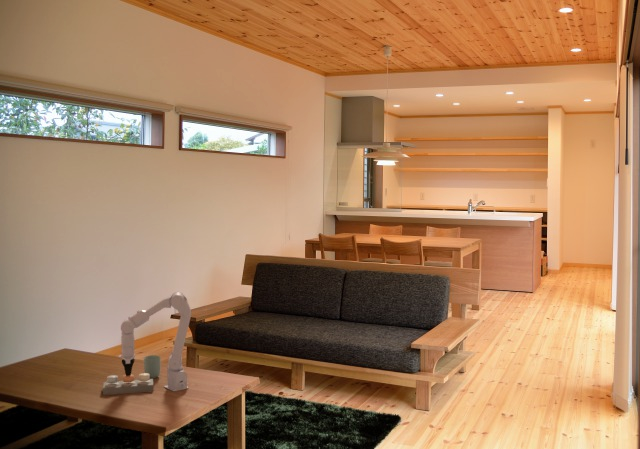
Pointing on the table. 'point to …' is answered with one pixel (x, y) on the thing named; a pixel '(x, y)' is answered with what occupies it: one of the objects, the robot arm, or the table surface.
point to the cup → (152, 365)
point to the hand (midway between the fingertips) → (128, 375)
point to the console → (127, 387)
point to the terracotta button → (128, 378)
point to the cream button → (144, 377)
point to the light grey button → (112, 379)
